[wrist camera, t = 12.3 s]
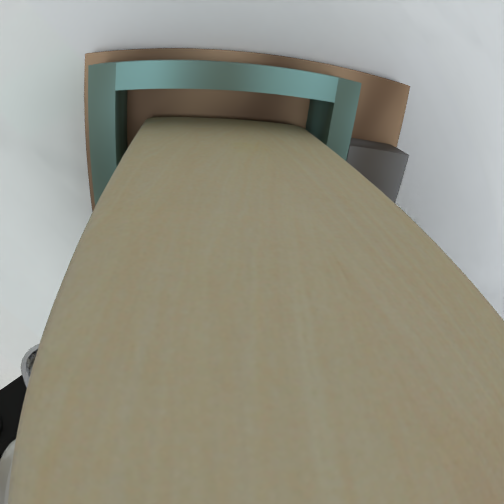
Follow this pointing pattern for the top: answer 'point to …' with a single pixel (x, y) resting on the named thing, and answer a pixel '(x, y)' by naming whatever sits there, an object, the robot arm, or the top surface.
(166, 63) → the board
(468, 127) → the top surface
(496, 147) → the top surface
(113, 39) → the top surface
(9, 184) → the top surface
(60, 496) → the beige long rectangular block
